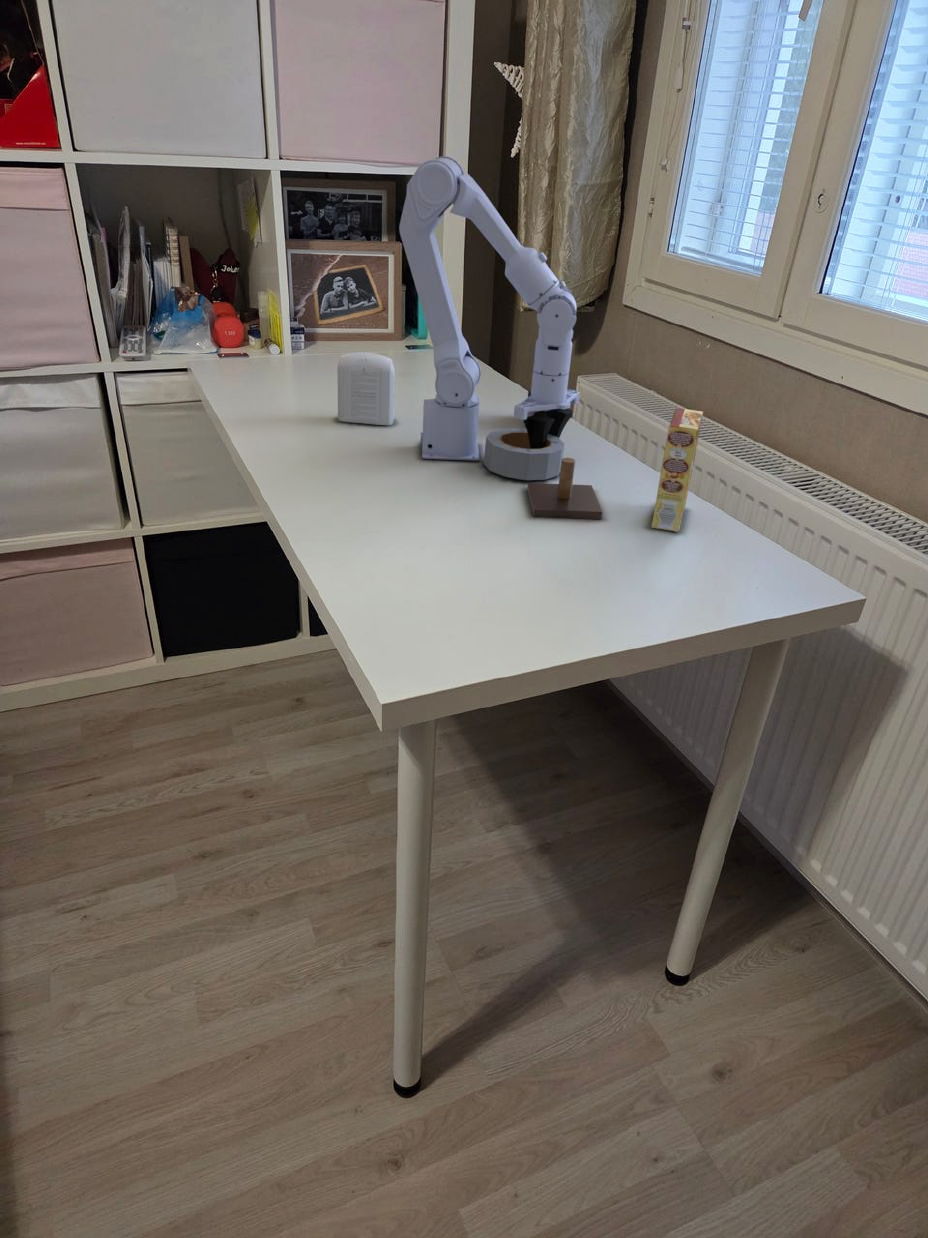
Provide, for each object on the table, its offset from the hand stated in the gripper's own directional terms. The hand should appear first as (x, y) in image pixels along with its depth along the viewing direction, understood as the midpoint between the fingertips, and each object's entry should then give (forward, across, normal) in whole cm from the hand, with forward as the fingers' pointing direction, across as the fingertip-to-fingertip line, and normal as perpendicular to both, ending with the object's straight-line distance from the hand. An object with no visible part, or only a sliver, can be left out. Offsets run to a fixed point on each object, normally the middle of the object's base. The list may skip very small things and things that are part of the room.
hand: (542, 452), depth 142 cm
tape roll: (+1, -5, 0) cm, 5 cm away
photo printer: (+2, -10, +33) cm, 35 cm away
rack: (+2, -11, -14) cm, 18 cm away
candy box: (+2, -4, -27) cm, 27 cm away
